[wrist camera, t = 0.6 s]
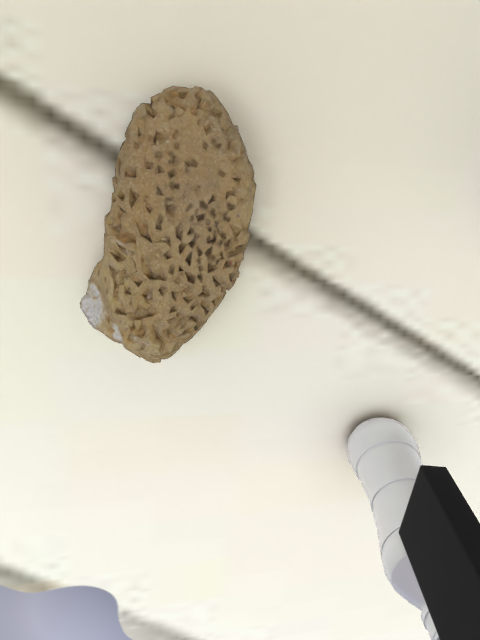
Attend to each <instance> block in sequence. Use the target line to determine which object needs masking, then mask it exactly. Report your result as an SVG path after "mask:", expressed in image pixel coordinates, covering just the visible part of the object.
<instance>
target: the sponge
mask: <svg viewBox="0 0 480 640" xmlns="http://www.w3.org/2000/svg"><path fill="white" fill-rule="evenodd" d="M125 137H126V140H125V141H124V142H123V143H122V146H121V148H120V151H119V154H118V157H117V162H116V167H115V173H116V177H113V178H112V179H113V186H114V190H115V191H114V192H113V193H112V205H111V209H110V212H109V213H108V214H107V215H106V216H105V234H104V256H103V259H102V260H101V261H100V262H99V263H98V264H97V265H96V267H95V268H94V271H93V273H92V276H91V278H90V280H89V284H88V289H87V293H86V295H85V296H84V297H83V298H82V299H81V302H80V308H81V310H82V311H83V313H84V314H85V316H86V317H87V319H88V322H89V323H90V324H91V325H92V327H93V328H95V329H97V330H99V331H101V332H102V333H103V334H105V335H106V336H107V337H108V338H110V339H111V340H113V341H115V342H118V343H122V344H123V346H124V347H125V349H127V350H129V351H130V352H132V353H134V354H135V355H137V356H138V357H142V358H144V359H145V360H147V361H149V362H152V363H158V362H161V359H167V358H169V357H171V356H172V355H173V354H175V353H176V352H177V351H178V349H180V347H181V346H182V345H183V344H184V343H186V342H187V341H189V340H190V339H191V338H192V337H193V336H194V335H195V334H196V333H197V332H198V331H199V330H200V329H201V328H202V326H203V325H204V324H205V323H206V322H207V319H208V318H209V316H210V315H211V314H212V313H213V311H214V310H215V309H216V308H217V306H218V305H219V304H220V303H221V301H222V300H223V298H224V296H225V294H226V290H230V289H231V288H232V286H233V285H234V283H235V281H236V278H238V277H239V271H238V269H239V266H240V263H241V261H242V260H243V259H244V258H243V255H244V251H245V249H246V247H247V243H248V240H249V238H250V233H249V232H248V228H249V224H250V220H251V216H252V212H253V202H254V195H255V189H256V184H255V182H254V180H253V178H254V170H253V167H252V165H251V163H250V161H249V159H248V157H247V153H246V149H245V146H244V143H243V141H242V139H241V136H240V134H239V132H238V126H234V125H233V123H232V121H231V119H230V117H229V115H228V112H227V111H226V109H225V108H224V107H223V105H222V104H221V103H220V101H219V100H218V98H217V97H216V96H215V95H214V93H213V92H211V91H210V90H204V89H203V88H202V87H196V86H195V87H194V88H192V89H188V88H186V87H175V86H172V87H169V88H167V89H165V90H163V92H162V93H159V94H157V95H155V96H153V97H151V104H146V103H142V104H141V105H140V106H139V107H138V108H136V110H135V111H134V113H133V116H132V120H131V122H130V124H129V126H128V128H127V130H126V132H125Z"/></svg>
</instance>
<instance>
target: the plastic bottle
mask: <svg viewBox="0 0 480 640" xmlns="http://www.w3.org/2000/svg"><path fill="white" fill-rule="evenodd" d="M347 449H348V459H349V462H350V464H351V466H352V468H353V470H354V472H355V474H356V475H357V477H358V478H359V480H360V481H361V483H362V486H363V488H364V490H365V492H366V495H367V497H368V499H369V501H370V504H371V508H372V512H373V515H374V519H375V523H376V527H377V532H378V539H379V545H380V552H381V559H382V563H383V567H384V572H385V575H386V577H387V579H388V580H389V582H390V583H391V585H392V586H393V588H394V589H395V591H396V592H397V593H398V594H399V595H401V596H402V597H403V598H404V599H406V600H407V601H408V602H409V603H411V604H412V605H414V606H415V607H417V608H418V609H420V610H421V619H422V621H423V624H424V626H425V628H426V629H427V630H428V632H429V635H430V637H431V640H440V639H439V636H438V633H437V631H436V628H435V626H434V623H433V621H432V618H431V615H430V613H429V610H428V608H427V605H426V602H425V600H424V597H423V595H422V592H421V589H420V587H419V584H418V582H417V579H416V577H415V574H414V571H413V569H412V566H411V564H410V561H409V558H408V556H407V553H406V551H405V548H404V545H403V543H402V540H401V538H400V535H399V529H400V526H401V523H402V520H403V517H404V514H405V511H406V508H407V505H408V502H409V499H410V496H411V493H412V490H413V486H414V483H415V480H416V477H417V474H418V471H419V468H420V465H423V464H422V461H421V456H420V451H419V448H418V445H417V442H416V440H415V438H414V436H413V435H412V434H411V432H410V431H409V430H408V429H407V428H406V427H405V426H404V425H403V424H402V423H401V422H399V421H397V420H394V419H390V418H385V417H376V418H371V419H368V420H366V421H364V422H362V423H360V424H359V425H358V426H357V427H356V428H355V429H354V430H353V432H352V433H351V435H350V437H349V439H348V444H347Z"/></svg>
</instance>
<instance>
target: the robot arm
mask: <svg viewBox="0 0 480 640" xmlns="http://www.w3.org/2000/svg"><path fill="white" fill-rule="evenodd" d="M399 535H400V538H401V540H402V543H403V545H404V548H405V551H406V553H407V556H408V558H409V561H410V564H411V566H412V569H413V571H414V574H415V577H416V579H417V582H418V584H419V587H420V589H421V592H422V595H423V597H424V600H425V602H426V605H427V608H428V610H429V613H430V615H431V618H432V621H433V623H434V626H435V628H436V631H437V633H438V636H439V639H440V640H480V523H479V521H478V520H477V518H476V516H475V515H474V513H473V511H472V510H471V508H470V506H469V505H468V503H467V501H466V500H465V498H464V497H463V495H462V493H461V492H460V490H459V488H458V487H457V485H456V483H455V482H454V480H453V478H452V477H451V475H450V473H449V472H448V470H447V468H446V467H437V466H425V465H420V468H419V471H418V474H417V477H416V480H415V483H414V486H413V490H412V493H411V496H410V499H409V502H408V505H407V508H406V511H405V514H404V517H403V520H402V523H401V526H400V529H399Z"/></svg>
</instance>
